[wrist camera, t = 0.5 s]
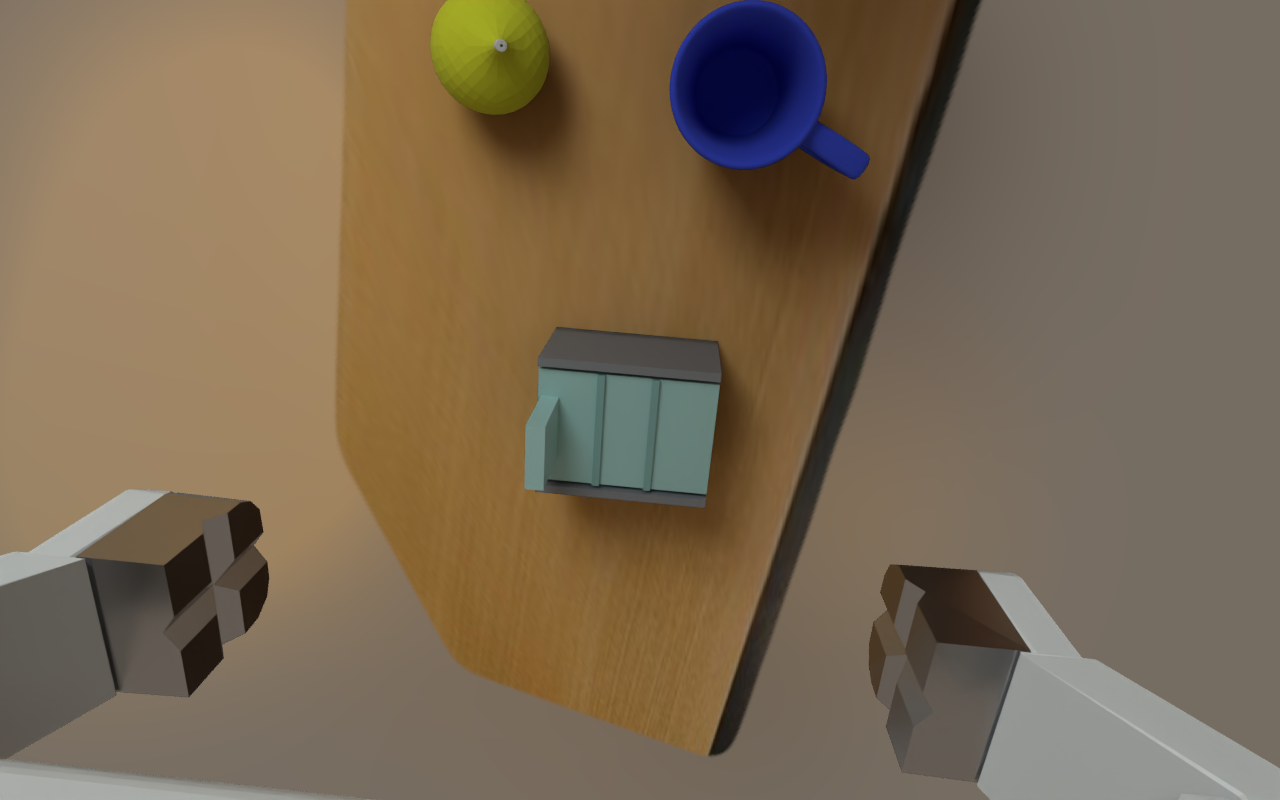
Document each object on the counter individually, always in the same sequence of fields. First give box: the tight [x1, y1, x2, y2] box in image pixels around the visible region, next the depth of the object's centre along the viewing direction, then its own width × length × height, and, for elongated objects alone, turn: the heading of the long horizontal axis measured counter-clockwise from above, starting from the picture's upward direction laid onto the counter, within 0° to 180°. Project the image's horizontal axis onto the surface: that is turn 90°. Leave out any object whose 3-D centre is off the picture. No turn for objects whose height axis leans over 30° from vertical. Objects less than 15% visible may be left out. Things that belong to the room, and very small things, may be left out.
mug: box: [670, 0, 870, 179], centre depth 43 cm, size 8×12×10 cm
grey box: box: [535, 327, 722, 508], centre depth 52 cm, size 10×12×7 cm
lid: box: [525, 366, 720, 494], centre depth 47 cm, size 8×12×6 cm
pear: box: [430, 0, 550, 115], centre depth 42 cm, size 7×7×10 cm
